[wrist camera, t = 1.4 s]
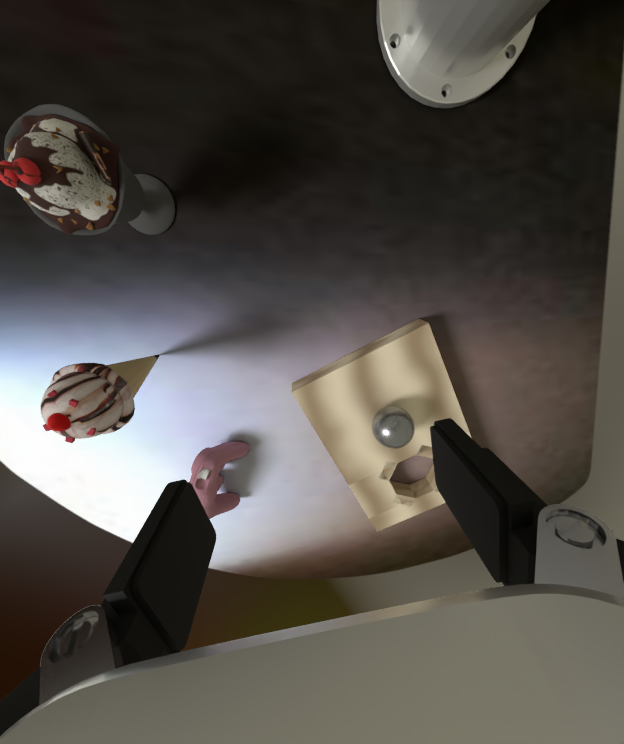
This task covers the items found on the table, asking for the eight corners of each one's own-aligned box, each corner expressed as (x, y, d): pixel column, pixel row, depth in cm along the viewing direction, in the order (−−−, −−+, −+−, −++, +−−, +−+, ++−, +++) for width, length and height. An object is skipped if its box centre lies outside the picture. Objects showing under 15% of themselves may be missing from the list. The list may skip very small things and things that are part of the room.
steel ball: (397, 392, 32) (412, 412, 28) (411, 423, 34) (428, 446, 29) (360, 410, 33) (370, 431, 28) (376, 439, 34) (387, 464, 30)
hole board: (418, 318, 32) (428, 322, 29) (477, 471, 40) (488, 484, 37) (291, 383, 34) (291, 392, 31) (372, 516, 42) (377, 531, 39)
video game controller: (224, 428, 37) (181, 454, 31) (254, 442, 36) (215, 473, 30) (215, 488, 40) (175, 522, 34) (242, 503, 39) (205, 542, 33)
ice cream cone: (139, 320, 30) (4, 370, 16) (193, 341, 31) (110, 404, 17) (127, 367, 32) (-4, 449, 18) (179, 385, 33) (93, 476, 19)
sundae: (105, 229, 27) (-98, 194, 13) (114, 149, 25) (-115, 4, 11) (176, 256, 28) (60, 249, 14) (191, 181, 26) (71, 87, 12)
